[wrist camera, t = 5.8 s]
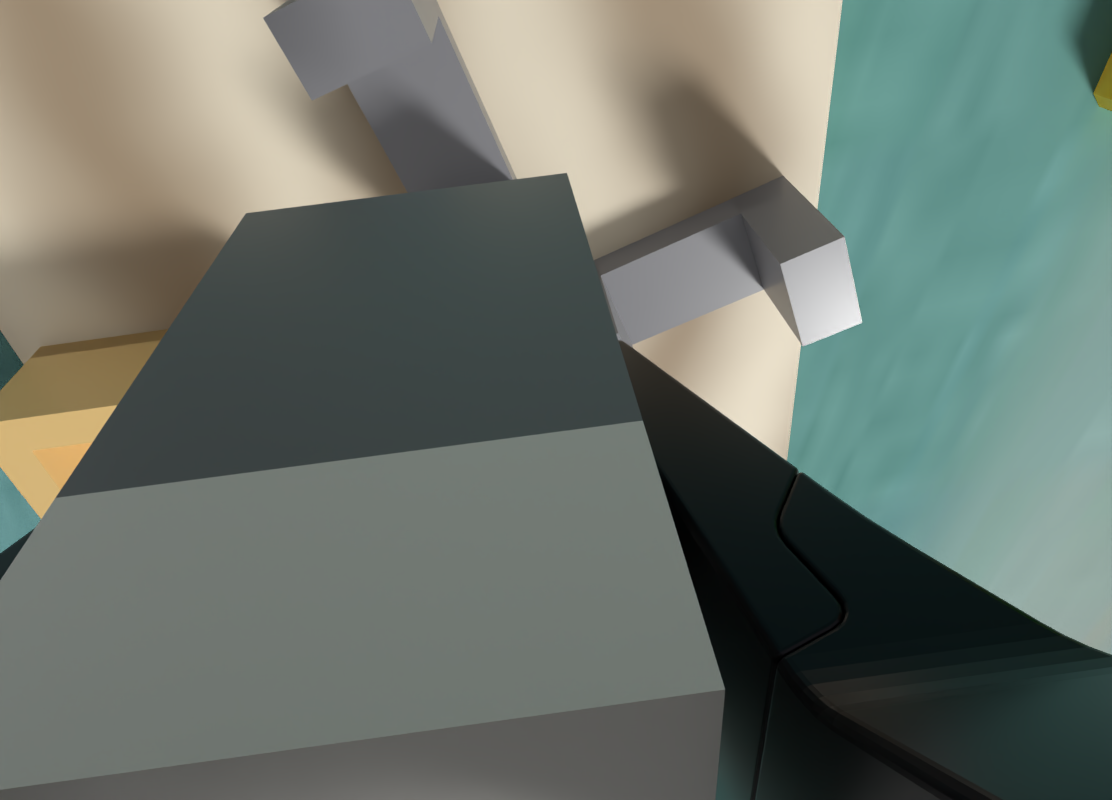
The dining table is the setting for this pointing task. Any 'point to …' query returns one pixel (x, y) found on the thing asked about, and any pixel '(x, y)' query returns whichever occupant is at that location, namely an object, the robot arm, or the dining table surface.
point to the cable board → (364, 168)
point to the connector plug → (369, 535)
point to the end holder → (64, 408)
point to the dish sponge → (1105, 87)
